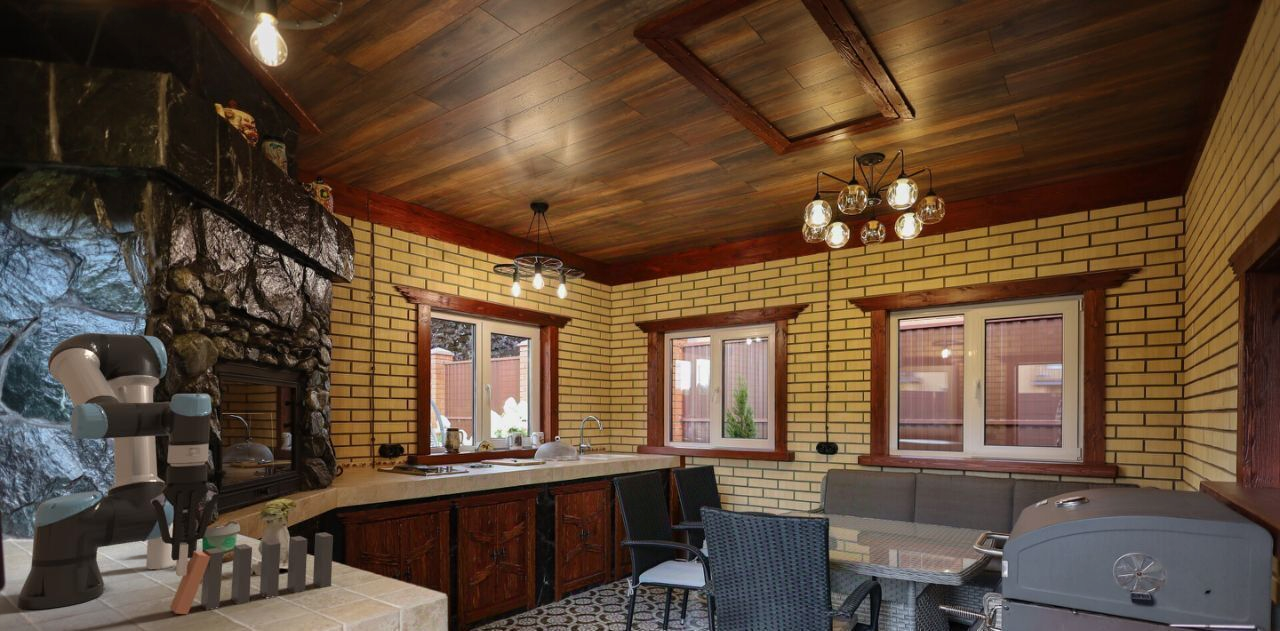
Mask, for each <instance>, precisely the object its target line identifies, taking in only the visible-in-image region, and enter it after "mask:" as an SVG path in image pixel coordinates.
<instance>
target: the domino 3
mask: <svg viewBox="0 0 1280 631" xmlns="http://www.w3.org/2000/svg"><path fill="white" fill-rule="evenodd" d="M252 558H253V547H252V546H250V545H249V544H248V543H247V544H246V543H243V544H236V545H235V546H234V555H233V561H232V574H231V577H232V578H231V594H230V596H231V597H230V599H232V600H233V601H232V600H231V601H232V602H234V601H235V602H236V603H237V604H236V603H235V602H234V603H235V604H236V605H240V604H239V603H242V604H246V603H245V602H247V603H249V602H250V597H251V578H252V577H251V576H252V573H251V567H252ZM248 601H249V602H248Z"/></svg>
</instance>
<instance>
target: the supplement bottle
mask: <svg viewBox="0 0 1280 631" xmlns="http://www.w3.org/2000/svg"><path fill="white" fill-rule="evenodd" d="M198 525H199V522H198V520H197V519H196V524H195V534H196V531H197V528H198ZM186 526H187V509H183V513H182V528H181V542H180V543H184V542H186ZM197 548H198V540H197V541H195V542H194V549H193V551H197Z"/></svg>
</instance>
